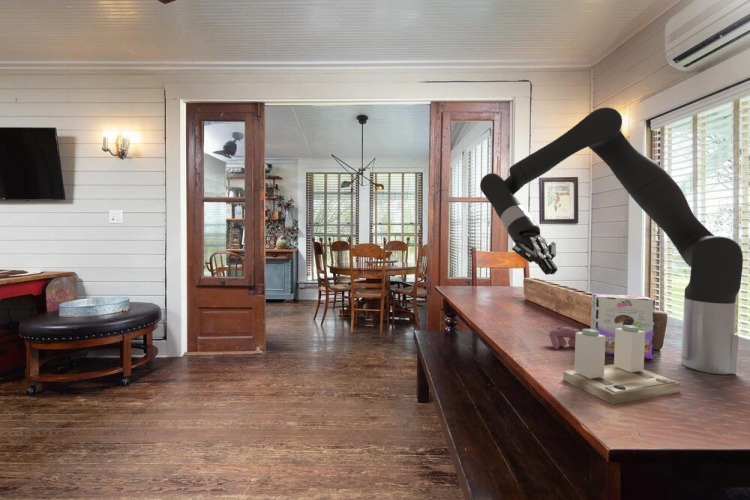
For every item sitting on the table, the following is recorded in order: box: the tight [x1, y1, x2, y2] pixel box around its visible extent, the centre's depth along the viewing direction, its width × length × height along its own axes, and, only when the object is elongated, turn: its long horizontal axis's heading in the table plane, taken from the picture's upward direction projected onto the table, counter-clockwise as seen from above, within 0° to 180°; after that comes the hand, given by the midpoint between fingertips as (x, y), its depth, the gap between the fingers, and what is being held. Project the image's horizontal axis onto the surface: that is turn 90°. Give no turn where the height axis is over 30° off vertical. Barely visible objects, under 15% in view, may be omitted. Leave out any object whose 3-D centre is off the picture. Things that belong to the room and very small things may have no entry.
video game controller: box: [548, 326, 582, 350], centre depth 103 cm, size 10×5×7 cm, turn 84°
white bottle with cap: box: [573, 328, 606, 379], centre depth 77 cm, size 4×4×10 cm
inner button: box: [613, 325, 645, 372], centre depth 81 cm, size 4×4×10 cm
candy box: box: [590, 293, 656, 360], centre depth 98 cm, size 14×6×16 cm, turn 71°
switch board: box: [563, 363, 681, 405], centre depth 77 cm, size 12×19×2 cm, turn 107°
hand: (551, 272), depth 87 cm, fingers closed
